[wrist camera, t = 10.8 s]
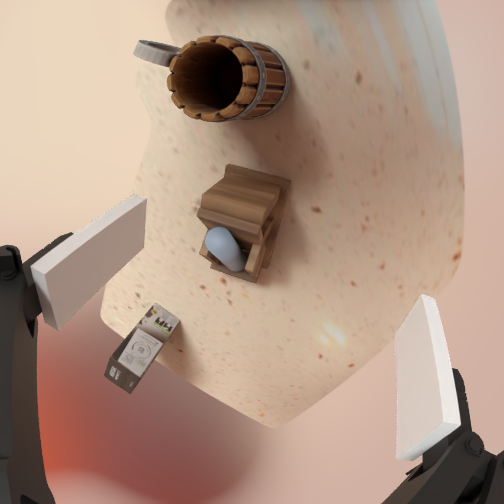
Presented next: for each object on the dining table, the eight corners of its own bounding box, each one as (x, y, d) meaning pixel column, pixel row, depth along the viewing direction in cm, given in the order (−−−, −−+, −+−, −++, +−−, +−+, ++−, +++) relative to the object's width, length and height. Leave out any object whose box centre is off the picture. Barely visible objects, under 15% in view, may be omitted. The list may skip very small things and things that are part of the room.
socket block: (229, 163, 45) (192, 189, 35) (290, 180, 44) (271, 211, 33) (213, 256, 53) (181, 299, 43) (266, 274, 52) (244, 322, 42)
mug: (306, 64, 35) (285, 51, 23) (268, 132, 41) (230, 153, 28) (203, 19, 35) (142, -2, 23) (173, 84, 41) (105, 90, 28)
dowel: (229, 248, 50) (209, 224, 38) (249, 253, 49) (235, 230, 37) (223, 268, 49) (201, 249, 37) (243, 274, 48) (227, 256, 37)
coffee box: (154, 301, 62) (110, 355, 49) (181, 320, 63) (141, 378, 49) (142, 325, 67) (102, 375, 54) (166, 342, 67) (129, 395, 54)
